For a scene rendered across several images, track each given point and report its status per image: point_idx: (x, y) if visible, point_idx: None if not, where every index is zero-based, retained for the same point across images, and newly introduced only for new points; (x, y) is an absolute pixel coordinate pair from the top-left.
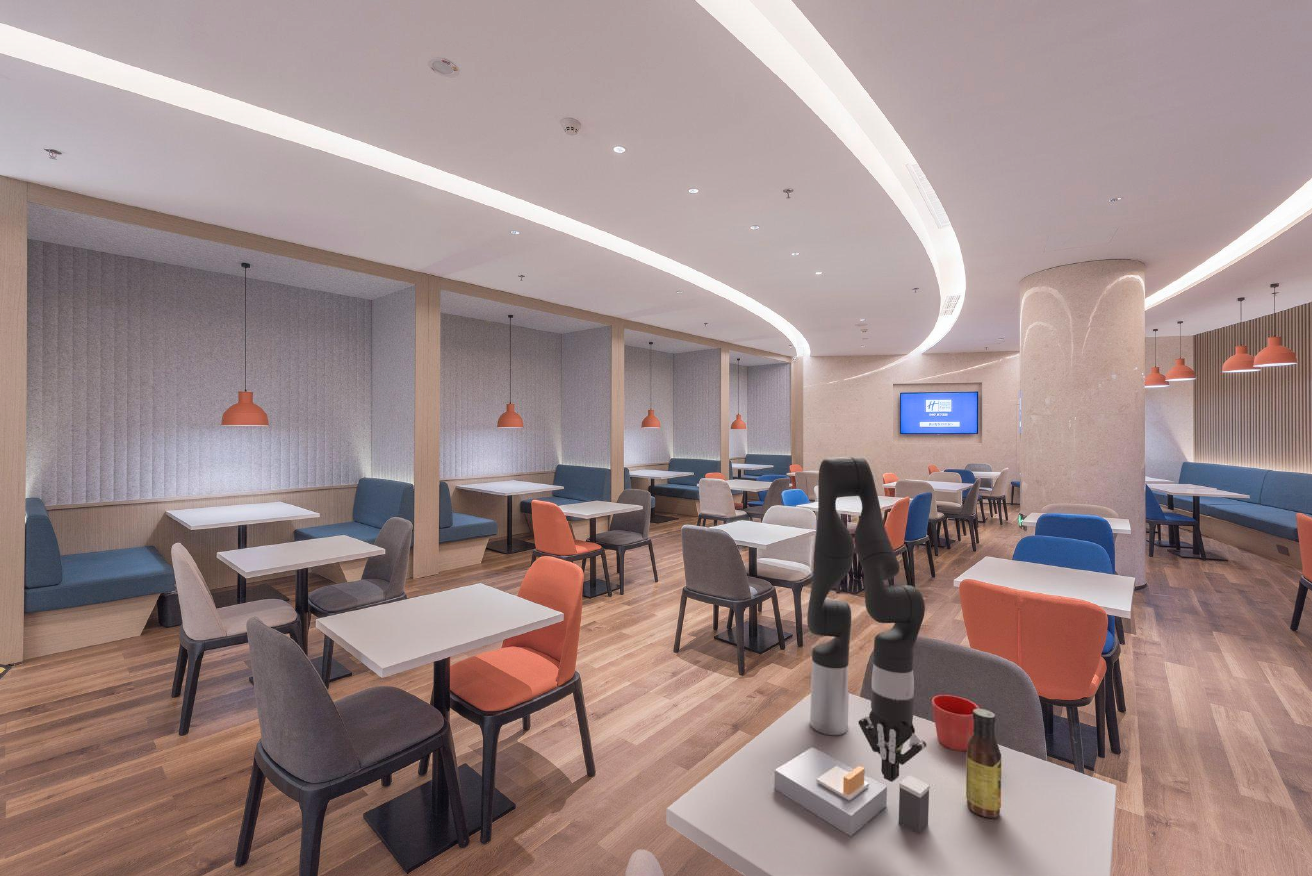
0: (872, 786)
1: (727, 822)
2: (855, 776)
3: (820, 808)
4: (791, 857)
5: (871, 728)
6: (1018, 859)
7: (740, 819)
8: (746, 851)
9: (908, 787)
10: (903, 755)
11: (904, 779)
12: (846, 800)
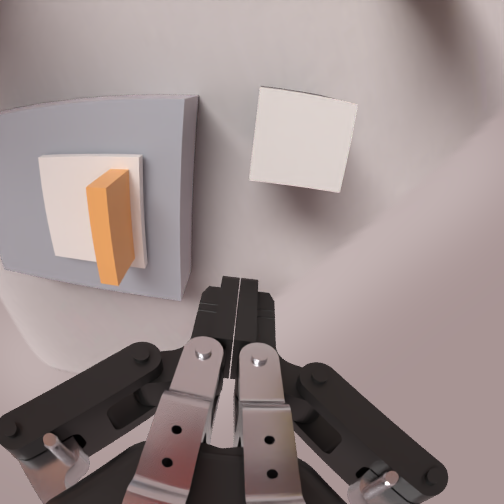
0: (149, 139)
1: (68, 350)
2: (114, 247)
3: None
4: None
5: (89, 462)
6: (491, 99)
7: (68, 338)
8: None
9: (289, 183)
10: (314, 446)
11: (256, 136)
12: None
